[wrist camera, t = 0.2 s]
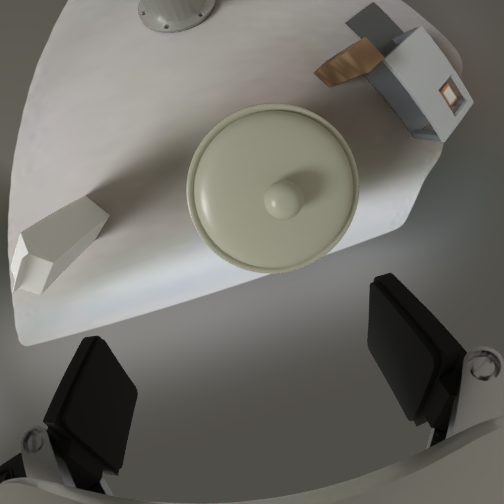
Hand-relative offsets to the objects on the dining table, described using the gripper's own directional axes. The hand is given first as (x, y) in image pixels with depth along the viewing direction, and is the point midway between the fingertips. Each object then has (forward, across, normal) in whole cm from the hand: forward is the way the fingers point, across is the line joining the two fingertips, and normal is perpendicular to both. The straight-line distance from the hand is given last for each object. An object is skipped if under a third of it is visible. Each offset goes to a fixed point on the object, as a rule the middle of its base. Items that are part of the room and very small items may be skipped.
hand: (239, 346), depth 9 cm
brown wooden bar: (+37, -19, -14) cm, 44 cm away
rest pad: (+37, -31, -23) cm, 54 cm away
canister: (+37, -5, 0) cm, 37 cm away
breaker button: (+33, -38, -10) cm, 52 cm away
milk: (+37, +25, 0) cm, 45 cm away
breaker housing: (+37, -34, -12) cm, 52 cm away
